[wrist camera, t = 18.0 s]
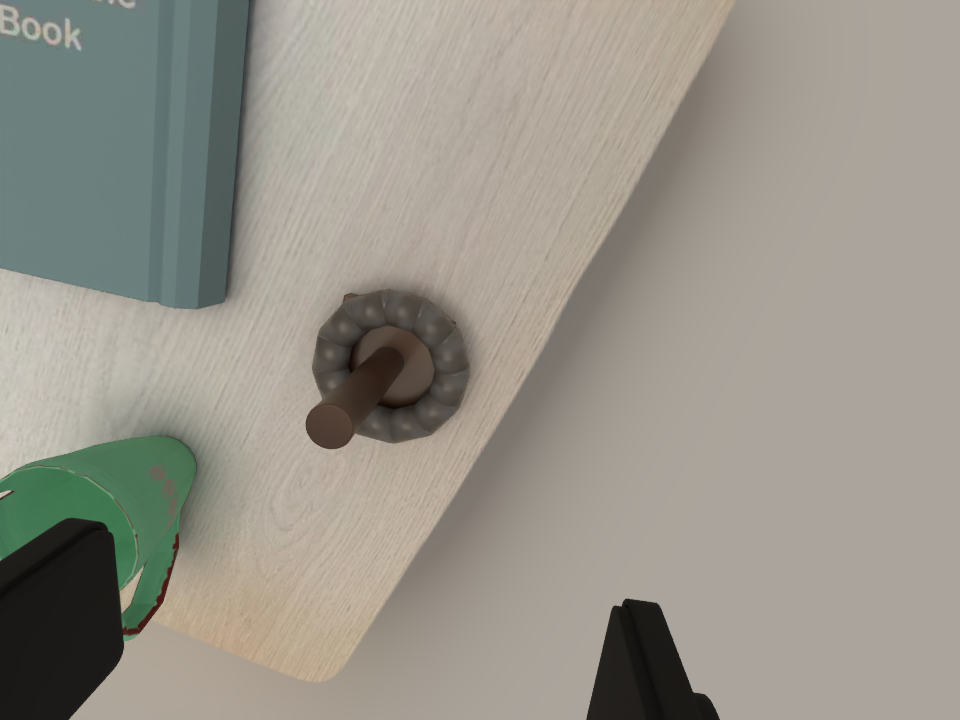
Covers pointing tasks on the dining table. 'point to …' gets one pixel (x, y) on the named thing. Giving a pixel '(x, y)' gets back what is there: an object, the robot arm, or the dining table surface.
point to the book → (121, 143)
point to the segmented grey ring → (427, 328)
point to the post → (372, 383)
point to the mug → (109, 508)
